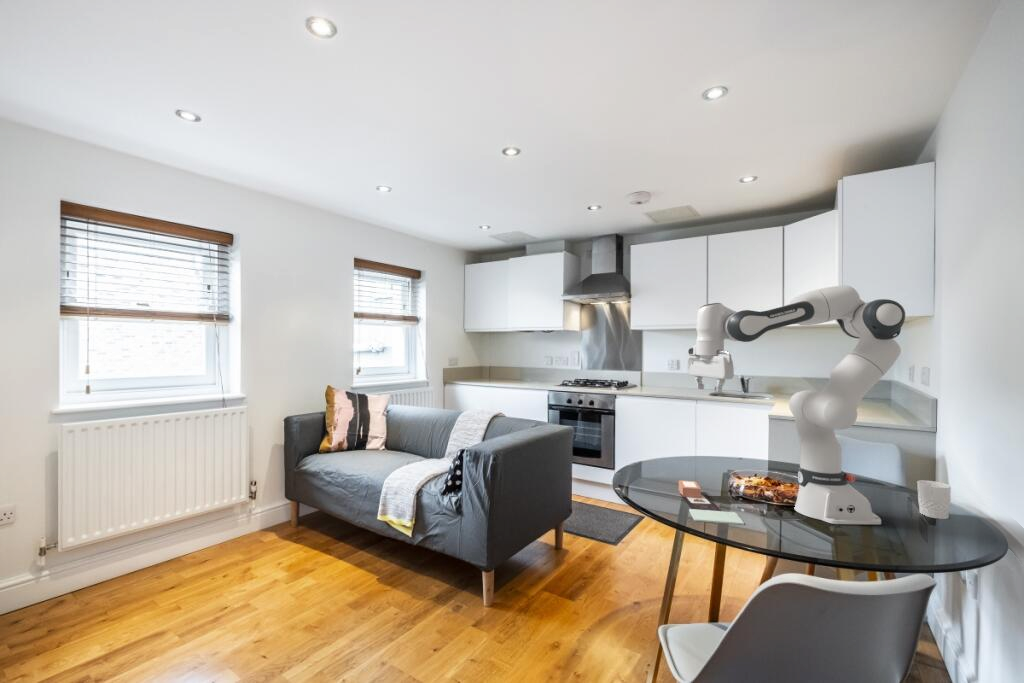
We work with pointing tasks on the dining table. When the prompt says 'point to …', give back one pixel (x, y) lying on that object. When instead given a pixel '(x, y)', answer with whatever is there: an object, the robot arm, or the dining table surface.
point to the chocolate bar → (701, 503)
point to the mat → (716, 516)
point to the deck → (689, 489)
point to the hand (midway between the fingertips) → (709, 390)
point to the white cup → (934, 499)
